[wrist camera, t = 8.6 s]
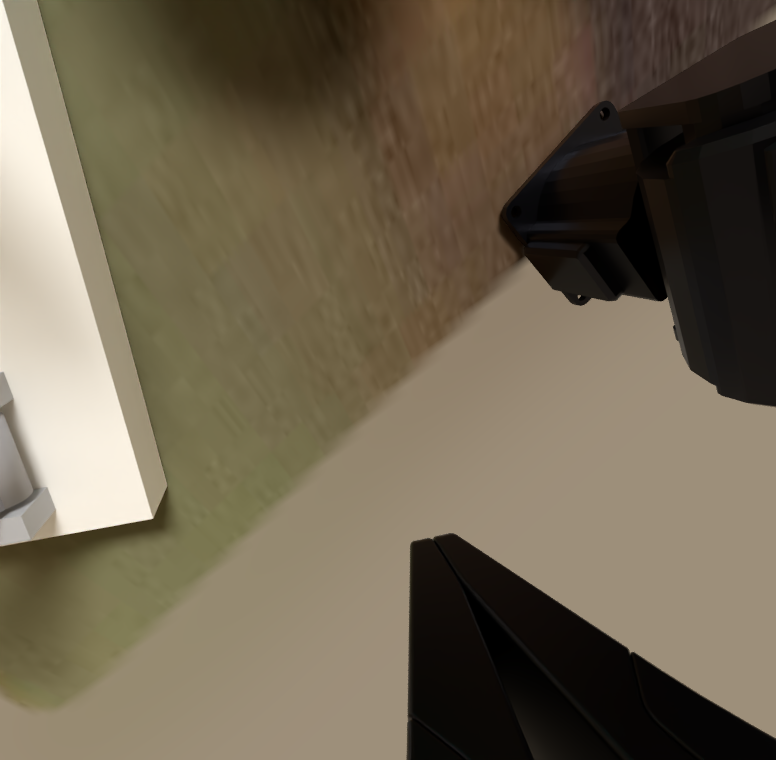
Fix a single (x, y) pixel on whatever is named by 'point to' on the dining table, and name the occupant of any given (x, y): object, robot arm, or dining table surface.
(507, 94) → the dining table surface
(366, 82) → the dining table surface
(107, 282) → the switch unit
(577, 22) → the dining table surface
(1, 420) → the terracotta lever
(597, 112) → the robot arm
